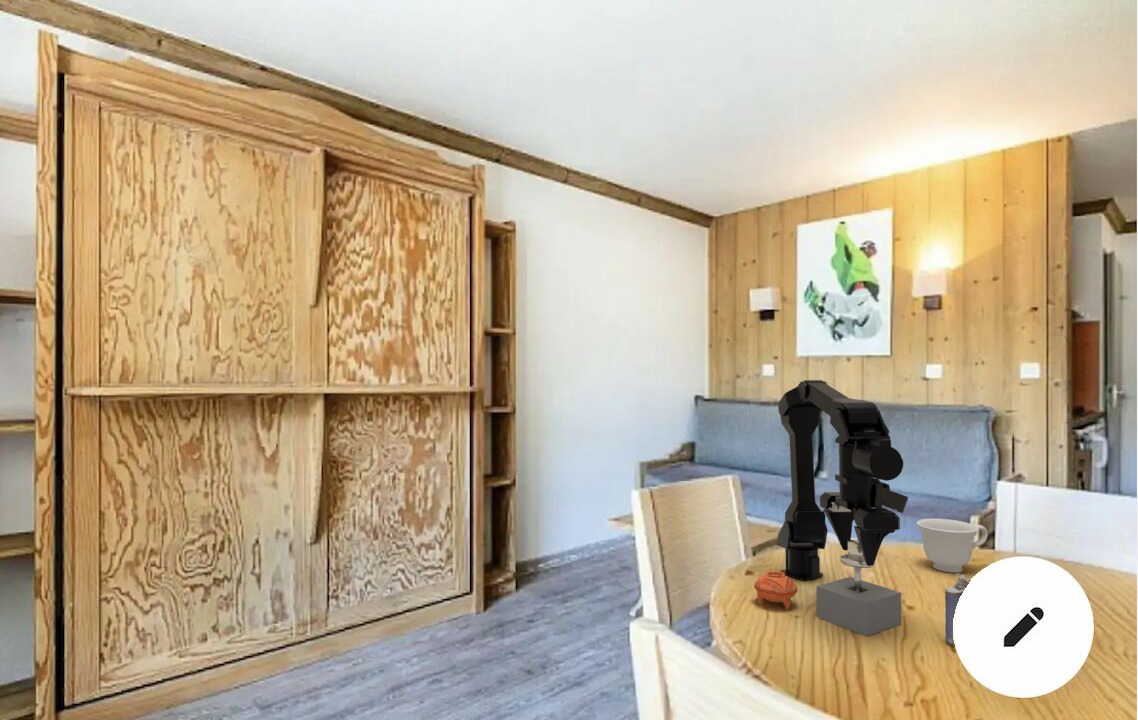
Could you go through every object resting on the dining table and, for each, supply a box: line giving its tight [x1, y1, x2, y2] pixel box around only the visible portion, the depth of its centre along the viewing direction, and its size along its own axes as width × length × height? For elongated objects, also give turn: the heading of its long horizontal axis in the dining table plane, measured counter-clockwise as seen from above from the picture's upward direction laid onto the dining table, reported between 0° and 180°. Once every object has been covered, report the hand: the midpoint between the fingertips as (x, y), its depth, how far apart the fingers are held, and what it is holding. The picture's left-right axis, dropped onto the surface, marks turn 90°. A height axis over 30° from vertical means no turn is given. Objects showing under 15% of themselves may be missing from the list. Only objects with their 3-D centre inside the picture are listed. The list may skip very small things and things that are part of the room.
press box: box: [815, 576, 902, 637], centre depth 112 cm, size 10×10×6 cm
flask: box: [944, 573, 971, 648], centre depth 104 cm, size 9×3×11 cm, turn 121°
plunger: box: [840, 539, 876, 593], centre depth 112 cm, size 7×7×10 cm
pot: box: [753, 570, 798, 610], centre depth 120 cm, size 8×8×7 cm
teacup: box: [916, 518, 988, 574], centre depth 141 cm, size 12×15×10 cm
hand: (857, 557), depth 113 cm, fingers open, 9 cm apart
